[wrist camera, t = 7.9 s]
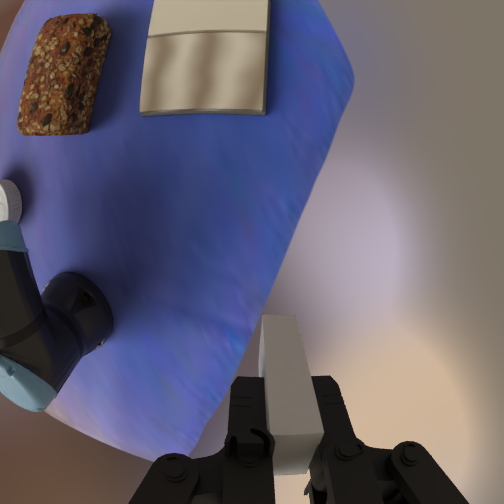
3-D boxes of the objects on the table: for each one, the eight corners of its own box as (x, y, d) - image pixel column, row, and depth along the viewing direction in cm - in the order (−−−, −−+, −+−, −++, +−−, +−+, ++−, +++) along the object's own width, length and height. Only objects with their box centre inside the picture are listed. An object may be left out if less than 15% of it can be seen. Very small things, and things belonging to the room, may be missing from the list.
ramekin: (21, 168, 37) (2, 171, 32) (31, 227, 40) (13, 235, 35) (-10, 182, 37) (-28, 186, 32) (0, 235, 41) (-17, 243, 36)
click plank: (144, 113, 34) (139, 111, 32) (151, 43, 31) (147, 38, 29) (261, 112, 34) (262, 110, 33) (265, 39, 31) (266, 33, 29)
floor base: (143, 116, 35) (135, 114, 32) (158, 2, 29) (152, -6, 26) (265, 115, 36) (266, 112, 33) (270, -2, 29) (272, -12, 26)
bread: (69, 34, 29) (36, 17, 20) (120, 28, 30) (91, 4, 21) (43, 135, 35) (4, 136, 26) (91, 137, 36) (53, 136, 26)
